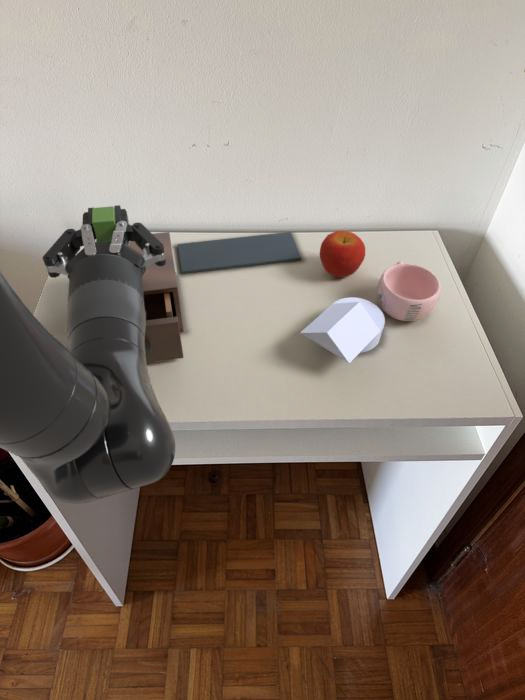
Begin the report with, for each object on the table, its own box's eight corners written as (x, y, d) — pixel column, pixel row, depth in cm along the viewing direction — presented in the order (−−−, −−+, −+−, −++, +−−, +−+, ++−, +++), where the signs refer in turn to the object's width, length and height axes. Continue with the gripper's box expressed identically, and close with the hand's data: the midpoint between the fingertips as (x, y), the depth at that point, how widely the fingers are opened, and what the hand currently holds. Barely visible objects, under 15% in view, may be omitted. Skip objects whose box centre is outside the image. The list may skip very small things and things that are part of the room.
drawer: (184, 364, 74) (179, 328, 68) (113, 374, 73) (101, 338, 67) (175, 301, 83) (170, 265, 77) (111, 309, 81) (101, 272, 75)
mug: (439, 327, 82) (451, 301, 77) (380, 330, 81) (388, 303, 77) (419, 279, 90) (428, 253, 85) (365, 280, 89) (371, 254, 84)
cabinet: (183, 331, 80) (177, 287, 72) (109, 341, 78) (95, 297, 71) (175, 276, 88) (169, 231, 81) (108, 284, 87) (96, 239, 79)
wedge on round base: (345, 377, 74) (390, 330, 81) (353, 348, 69) (400, 300, 76) (298, 347, 78) (345, 304, 85) (302, 317, 73) (351, 274, 80)
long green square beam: (116, 314, 69) (91, 222, 57) (116, 299, 71) (92, 207, 59) (134, 312, 69) (114, 220, 58) (133, 297, 71) (113, 206, 60)
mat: (182, 274, 89) (181, 271, 88) (177, 246, 94) (177, 244, 93) (300, 260, 92) (301, 257, 92) (290, 234, 97) (290, 231, 97)
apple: (366, 282, 89) (375, 247, 83) (324, 288, 87) (330, 252, 81) (352, 255, 94) (359, 220, 88) (312, 260, 92) (316, 225, 86)
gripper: (171, 273, 49) (158, 180, 60) (22, 290, 47) (37, 190, 58) (179, 326, 55) (165, 232, 66) (46, 343, 53) (55, 242, 63)
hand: (105, 213), depth 62 cm, fingers closed on long green square beam, 2 cm apart
